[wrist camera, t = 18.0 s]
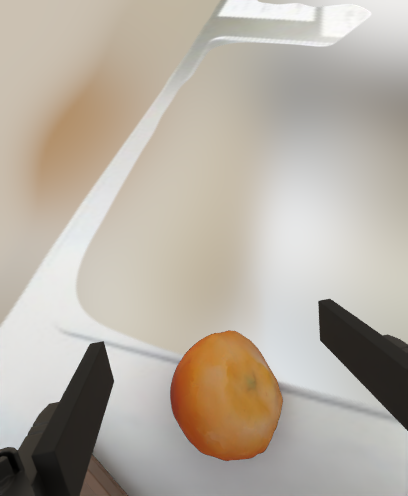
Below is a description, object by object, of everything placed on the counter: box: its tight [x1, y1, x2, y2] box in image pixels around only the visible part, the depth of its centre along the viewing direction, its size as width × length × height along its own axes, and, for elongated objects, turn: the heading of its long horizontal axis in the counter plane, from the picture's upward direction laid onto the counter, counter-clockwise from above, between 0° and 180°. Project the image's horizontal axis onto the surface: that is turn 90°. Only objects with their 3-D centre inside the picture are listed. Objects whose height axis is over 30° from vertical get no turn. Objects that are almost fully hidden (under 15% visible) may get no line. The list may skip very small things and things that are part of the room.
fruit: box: [170, 331, 283, 461], centre depth 20 cm, size 8×8×8 cm
